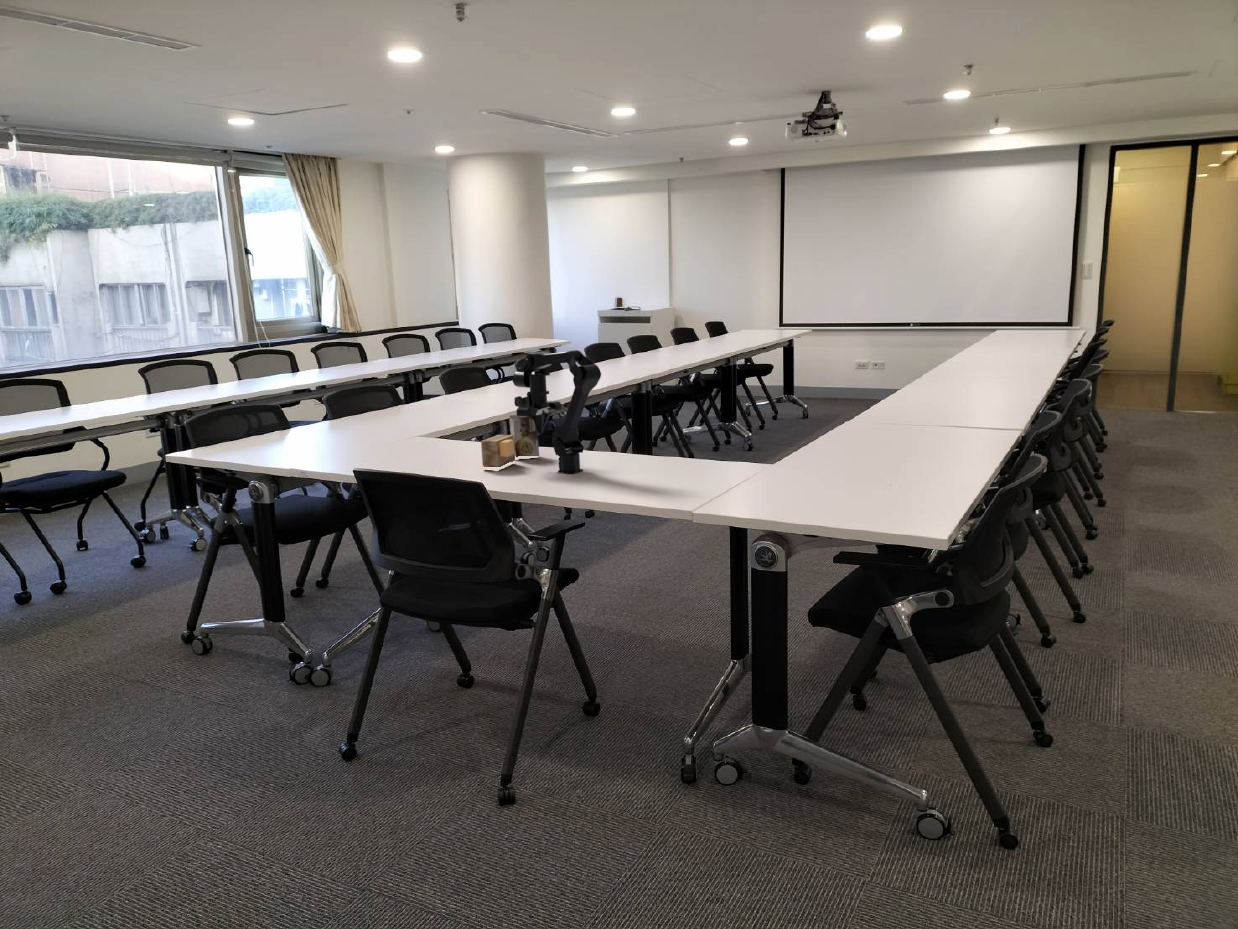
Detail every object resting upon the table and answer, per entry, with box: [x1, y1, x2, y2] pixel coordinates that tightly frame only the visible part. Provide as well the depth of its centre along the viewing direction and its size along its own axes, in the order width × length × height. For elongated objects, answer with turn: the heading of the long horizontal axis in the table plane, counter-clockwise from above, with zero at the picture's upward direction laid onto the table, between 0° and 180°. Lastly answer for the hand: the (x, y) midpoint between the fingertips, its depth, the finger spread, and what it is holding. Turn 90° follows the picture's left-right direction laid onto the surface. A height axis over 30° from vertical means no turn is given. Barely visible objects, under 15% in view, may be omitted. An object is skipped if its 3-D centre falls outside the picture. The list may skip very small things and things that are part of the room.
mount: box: [480, 434, 516, 467], centre depth 309 cm, size 7×13×10 cm, turn 160°
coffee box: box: [509, 414, 540, 457], centre depth 324 cm, size 9×6×16 cm
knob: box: [499, 440, 514, 457], centre depth 305 cm, size 7×5×5 cm
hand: (540, 433), depth 305 cm, fingers closed
